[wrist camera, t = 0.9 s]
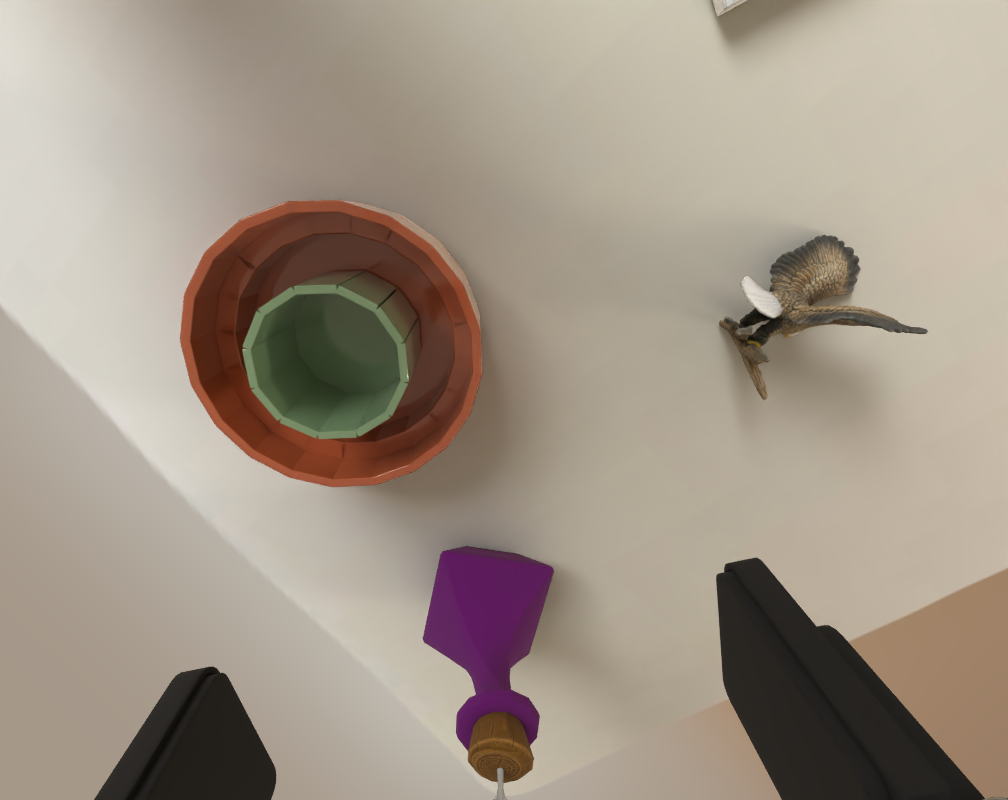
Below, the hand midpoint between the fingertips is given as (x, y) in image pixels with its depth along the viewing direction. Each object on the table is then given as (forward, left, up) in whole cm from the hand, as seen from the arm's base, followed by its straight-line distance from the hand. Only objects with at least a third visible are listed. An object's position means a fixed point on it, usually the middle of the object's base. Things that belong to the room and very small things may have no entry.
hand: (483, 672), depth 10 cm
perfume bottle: (+16, 0, -23) cm, 29 cm away
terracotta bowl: (-2, -7, -23) cm, 24 cm away
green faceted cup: (-2, -7, -23) cm, 24 cm away
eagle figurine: (-3, +19, -23) cm, 30 cm away
